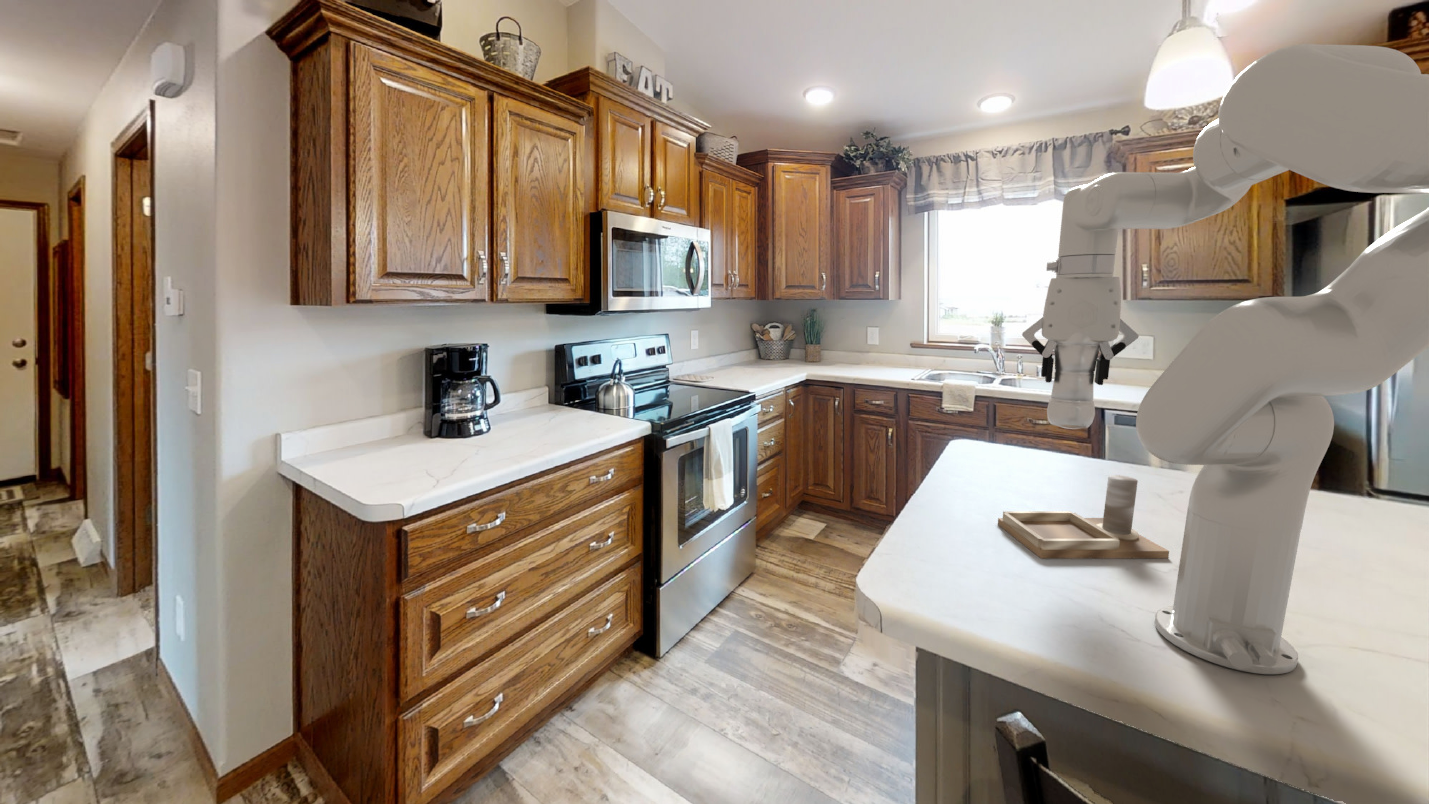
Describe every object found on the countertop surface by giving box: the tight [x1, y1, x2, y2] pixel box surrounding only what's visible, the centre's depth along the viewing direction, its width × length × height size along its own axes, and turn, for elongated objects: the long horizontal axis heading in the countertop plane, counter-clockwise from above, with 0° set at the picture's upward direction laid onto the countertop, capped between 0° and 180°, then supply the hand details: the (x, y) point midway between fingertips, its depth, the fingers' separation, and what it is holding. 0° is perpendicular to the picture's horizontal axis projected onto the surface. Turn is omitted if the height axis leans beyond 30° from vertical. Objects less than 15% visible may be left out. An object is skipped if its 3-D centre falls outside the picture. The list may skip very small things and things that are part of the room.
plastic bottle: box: [1046, 333, 1100, 430], centre depth 91 cm, size 6×7×20 cm
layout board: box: [997, 474, 1170, 560], centre depth 95 cm, size 20×14×11 cm
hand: (1073, 381), depth 92 cm, fingers closed on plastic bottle, 6 cm apart
